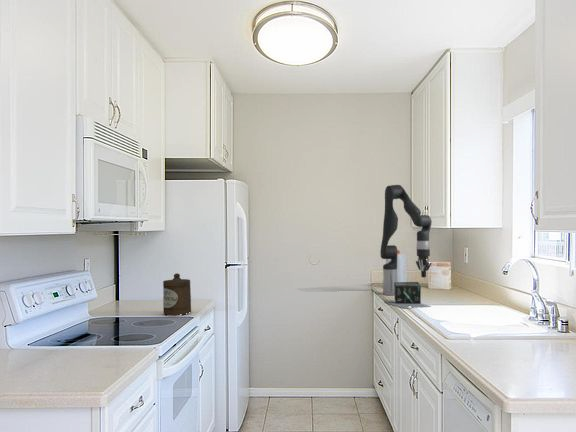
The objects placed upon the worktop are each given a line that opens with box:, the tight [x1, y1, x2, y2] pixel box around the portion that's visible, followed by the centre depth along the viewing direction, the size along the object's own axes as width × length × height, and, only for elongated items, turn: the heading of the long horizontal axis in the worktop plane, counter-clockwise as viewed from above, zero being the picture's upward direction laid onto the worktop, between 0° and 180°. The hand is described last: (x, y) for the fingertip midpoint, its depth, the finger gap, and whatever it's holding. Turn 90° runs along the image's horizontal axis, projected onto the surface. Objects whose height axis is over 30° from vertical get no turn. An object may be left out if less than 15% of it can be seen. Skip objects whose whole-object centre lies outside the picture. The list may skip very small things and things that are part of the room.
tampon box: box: [393, 281, 422, 304], centre depth 278 cm, size 11×9×15 cm
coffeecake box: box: [427, 261, 452, 291], centre depth 339 cm, size 15×7×20 cm, turn 58°
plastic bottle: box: [385, 249, 409, 282], centre depth 347 cm, size 15×15×28 cm
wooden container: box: [162, 273, 192, 316], centre depth 255 cm, size 15×15×22 cm
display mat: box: [383, 301, 432, 310], centre depth 273 cm, size 22×18×1 cm
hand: (423, 277), depth 277 cm, fingers closed
